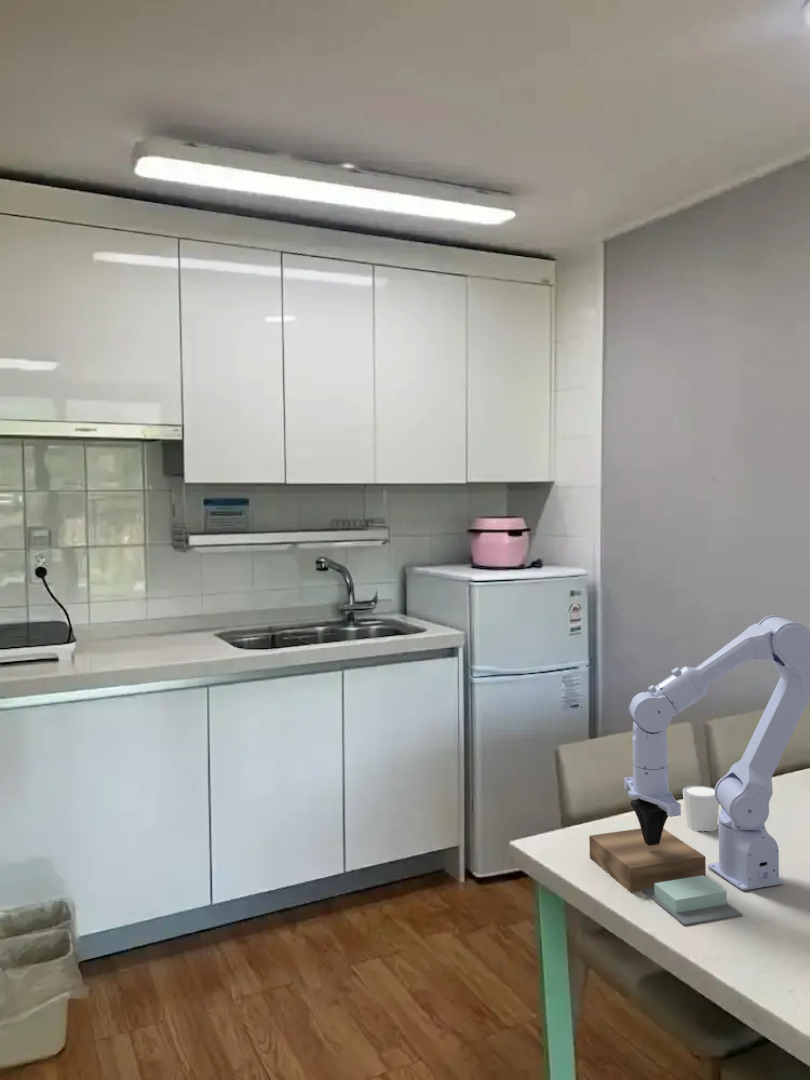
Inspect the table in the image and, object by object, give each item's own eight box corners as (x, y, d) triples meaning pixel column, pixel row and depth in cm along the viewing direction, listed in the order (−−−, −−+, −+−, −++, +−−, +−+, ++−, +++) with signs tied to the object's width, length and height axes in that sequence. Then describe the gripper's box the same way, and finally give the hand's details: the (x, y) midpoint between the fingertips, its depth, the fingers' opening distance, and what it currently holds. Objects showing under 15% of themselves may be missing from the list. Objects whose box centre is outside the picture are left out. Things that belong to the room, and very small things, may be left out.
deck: (705, 880, 138) (705, 856, 138) (630, 892, 135) (630, 868, 134) (659, 847, 152) (658, 825, 152) (589, 857, 148) (589, 835, 148)
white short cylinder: (714, 836, 156) (713, 799, 156) (678, 828, 160) (677, 792, 160) (725, 824, 162) (724, 789, 161) (689, 817, 166) (689, 782, 165)
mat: (742, 915, 126) (742, 913, 126) (684, 926, 124) (684, 924, 124) (695, 882, 138) (695, 880, 138) (642, 891, 135) (642, 889, 135)
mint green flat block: (703, 875, 135) (703, 887, 135) (654, 883, 133) (654, 895, 133) (726, 891, 129) (726, 903, 129) (675, 900, 127) (676, 912, 127)
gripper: (608, 755, 147) (609, 830, 147) (652, 780, 133) (654, 864, 133) (643, 750, 148) (645, 825, 149) (691, 775, 134) (693, 857, 135)
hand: (652, 843), depth 141 cm, fingers closed
